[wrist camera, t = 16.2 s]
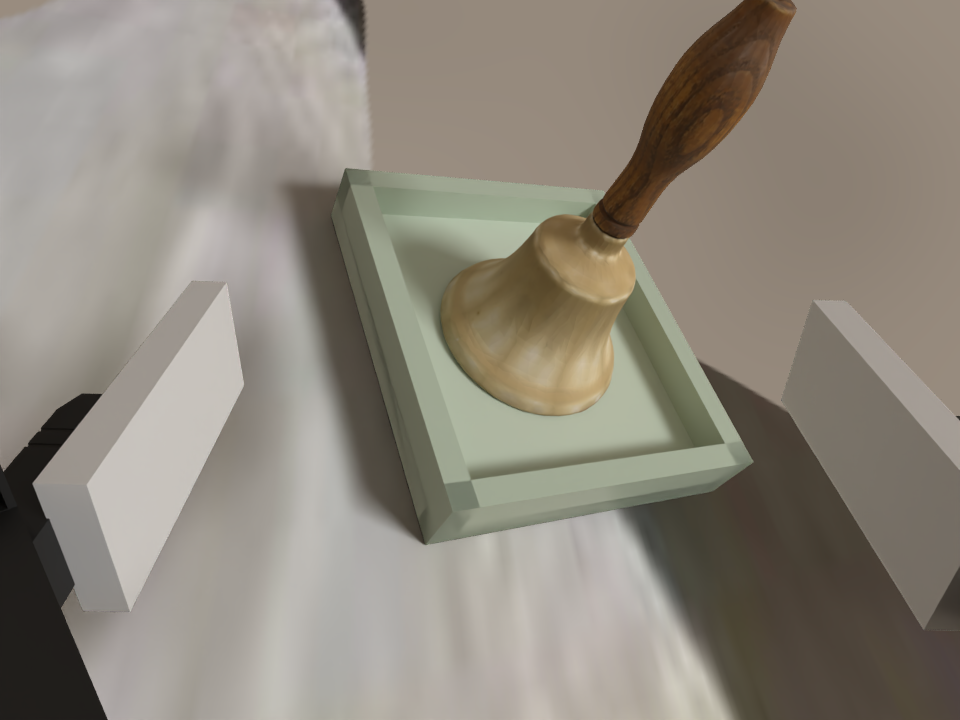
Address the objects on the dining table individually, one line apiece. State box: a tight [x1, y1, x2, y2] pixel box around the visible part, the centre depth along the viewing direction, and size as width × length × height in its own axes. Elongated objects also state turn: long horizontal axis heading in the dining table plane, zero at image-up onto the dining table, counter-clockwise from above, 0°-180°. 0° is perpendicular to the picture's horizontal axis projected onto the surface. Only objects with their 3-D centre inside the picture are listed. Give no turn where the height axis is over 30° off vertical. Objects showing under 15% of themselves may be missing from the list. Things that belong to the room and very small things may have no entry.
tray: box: [331, 168, 753, 545], centre depth 31 cm, size 16×14×3 cm
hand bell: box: [440, 0, 797, 416], centre depth 25 cm, size 8×8×16 cm
